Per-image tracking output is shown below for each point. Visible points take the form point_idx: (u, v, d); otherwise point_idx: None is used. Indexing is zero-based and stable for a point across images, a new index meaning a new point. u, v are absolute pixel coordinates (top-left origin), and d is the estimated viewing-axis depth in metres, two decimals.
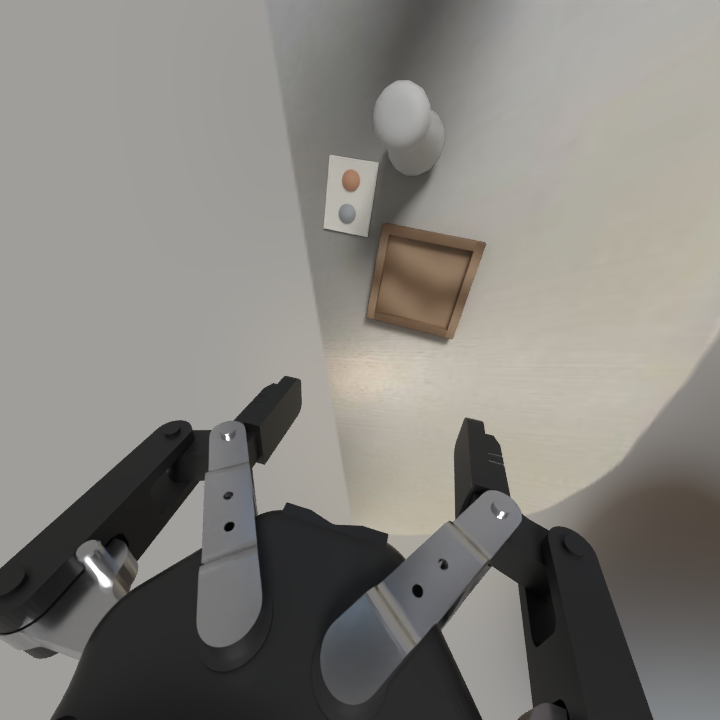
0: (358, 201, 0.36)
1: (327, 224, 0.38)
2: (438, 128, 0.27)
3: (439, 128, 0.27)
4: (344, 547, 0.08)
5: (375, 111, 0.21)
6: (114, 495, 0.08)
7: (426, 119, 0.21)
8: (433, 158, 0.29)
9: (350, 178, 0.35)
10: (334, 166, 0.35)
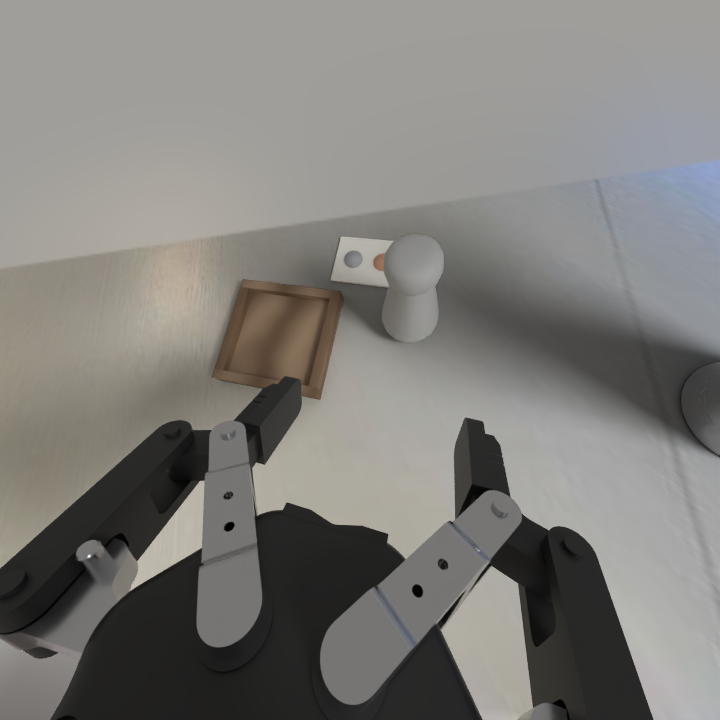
0: (364, 269, 0.34)
1: (344, 240, 0.36)
2: (417, 328, 0.27)
3: (417, 330, 0.27)
4: (344, 547, 0.08)
5: (419, 234, 0.21)
6: (114, 495, 0.08)
7: (409, 283, 0.20)
8: (394, 329, 0.28)
9: None
10: None
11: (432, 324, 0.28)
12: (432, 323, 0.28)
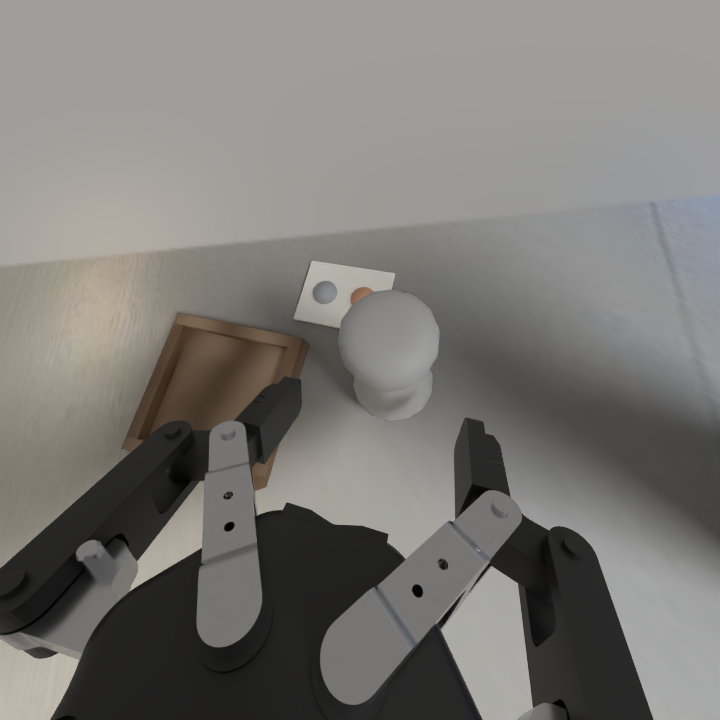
0: (338, 307, 0.26)
1: (315, 266, 0.27)
2: (399, 410, 0.18)
3: (400, 412, 0.19)
4: (344, 547, 0.08)
5: (399, 293, 0.12)
6: (114, 495, 0.08)
7: (377, 380, 0.11)
8: (367, 406, 0.20)
9: None
10: (381, 278, 0.26)
11: (422, 402, 0.19)
12: (422, 401, 0.19)
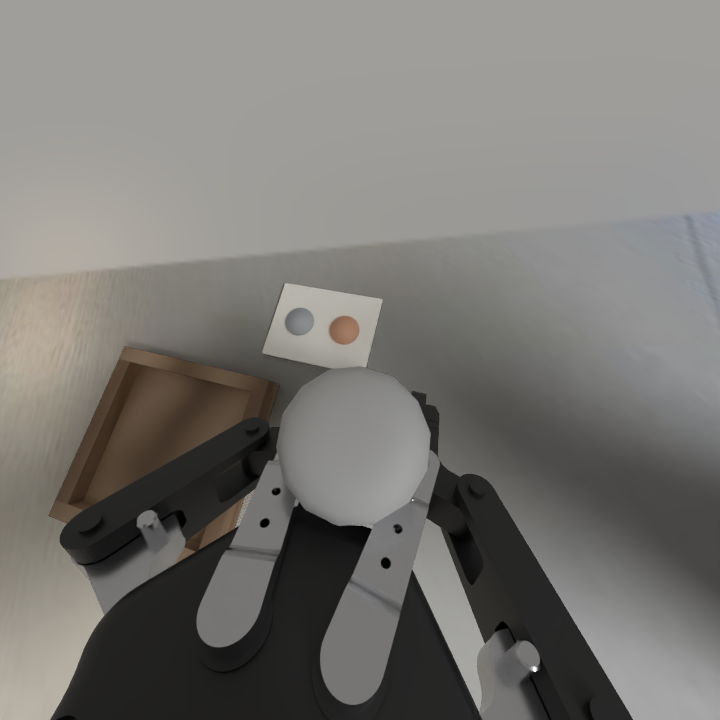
0: (315, 340, 0.22)
1: (289, 289, 0.23)
2: None
3: None
4: (344, 547, 0.08)
5: (369, 374, 0.08)
6: (185, 474, 0.09)
7: (332, 520, 0.07)
8: None
9: (347, 329, 0.22)
10: (366, 305, 0.22)
11: None
12: None
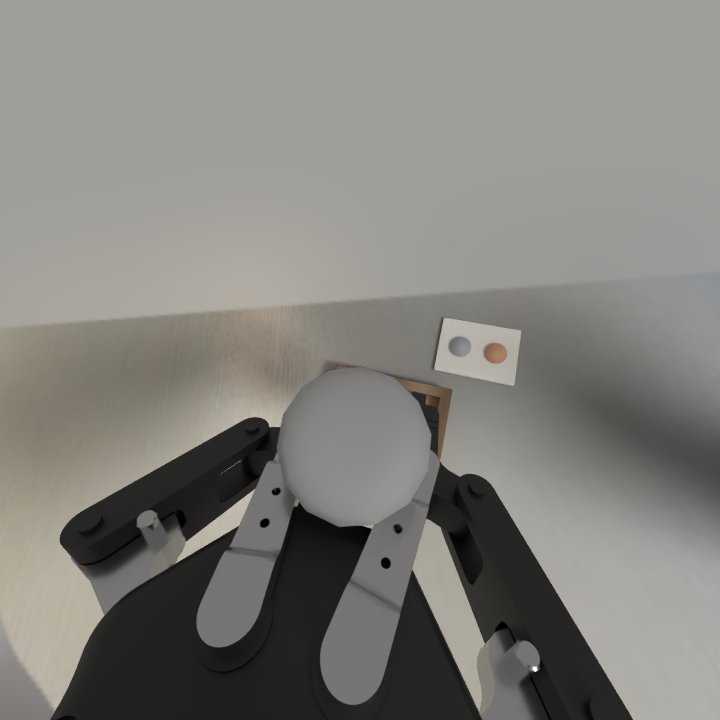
0: (473, 360, 0.31)
1: (448, 322, 0.32)
2: None
3: None
4: (344, 547, 0.08)
5: (370, 375, 0.08)
6: (185, 474, 0.09)
7: (333, 521, 0.07)
8: None
9: (498, 352, 0.30)
10: (509, 335, 0.31)
11: None
12: None
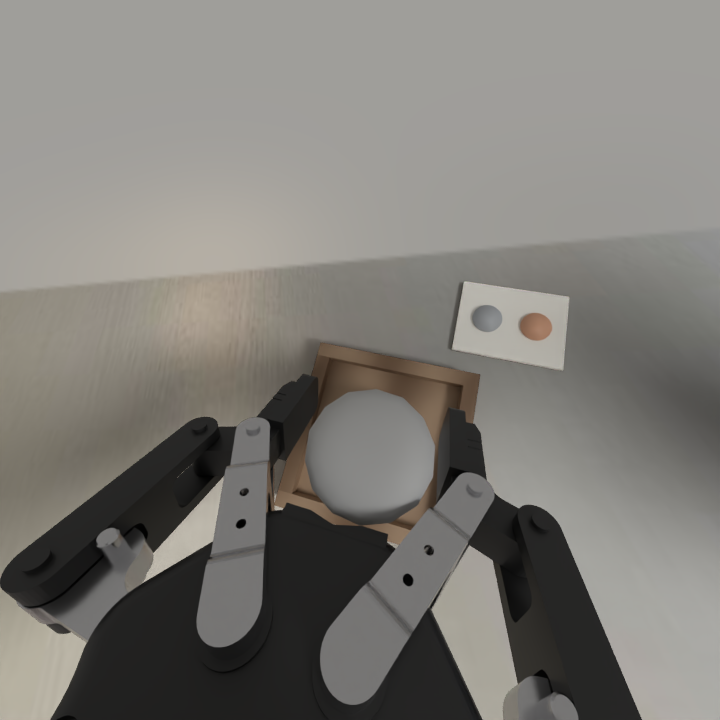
0: (506, 336, 0.23)
1: (469, 287, 0.24)
2: None
3: None
4: (344, 547, 0.08)
5: (382, 396, 0.09)
6: (138, 485, 0.09)
7: (354, 521, 0.09)
8: None
9: (539, 325, 0.22)
10: (553, 302, 0.23)
11: None
12: None
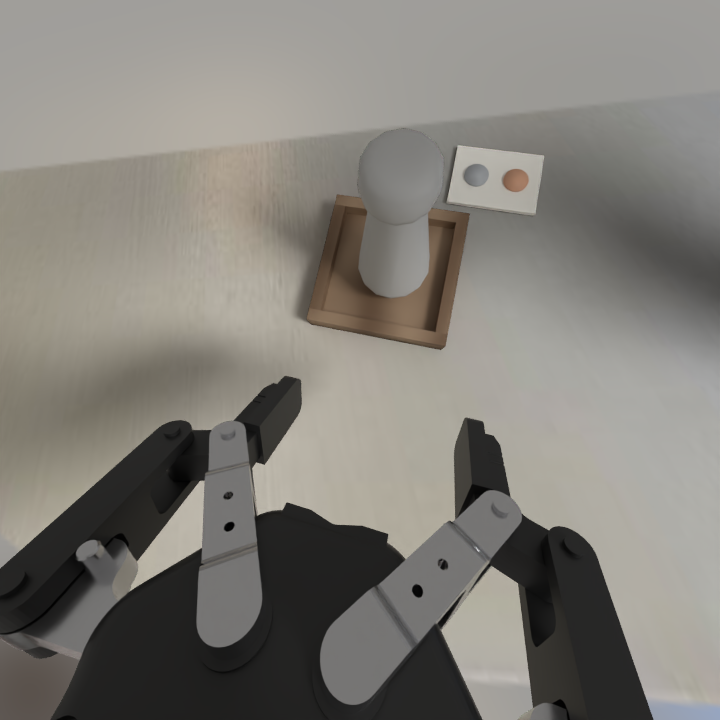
0: (491, 189, 0.27)
1: (462, 150, 0.28)
2: (402, 278, 0.21)
3: (402, 281, 0.22)
4: (344, 547, 0.08)
5: None
6: (114, 495, 0.08)
7: (394, 201, 0.14)
8: (373, 280, 0.22)
9: (518, 179, 0.27)
10: (531, 161, 0.27)
11: (421, 274, 0.22)
12: (421, 272, 0.22)
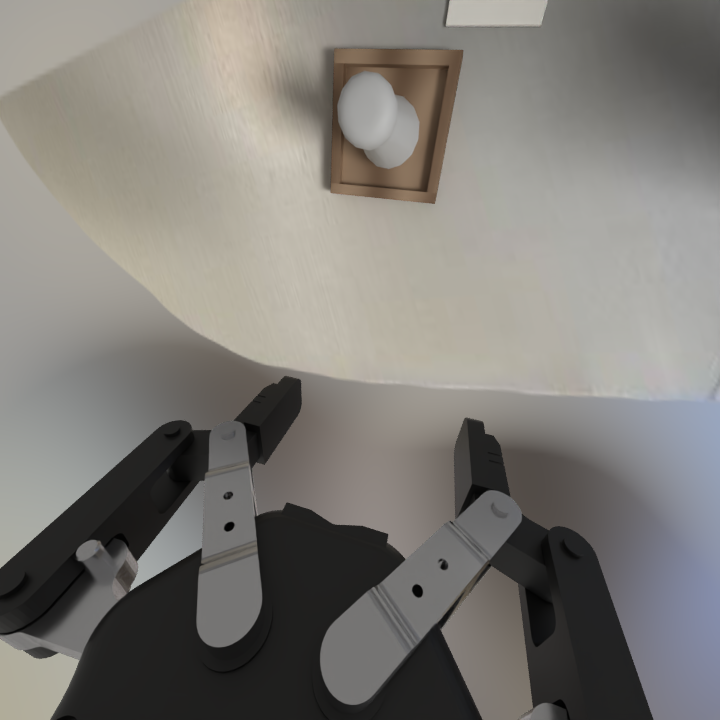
0: None
1: None
2: (392, 159, 0.28)
3: (393, 160, 0.28)
4: (344, 547, 0.08)
5: (368, 74, 0.19)
6: (114, 495, 0.08)
7: (363, 145, 0.21)
8: (372, 160, 0.29)
9: None
10: None
11: (409, 148, 0.28)
12: (408, 147, 0.28)
